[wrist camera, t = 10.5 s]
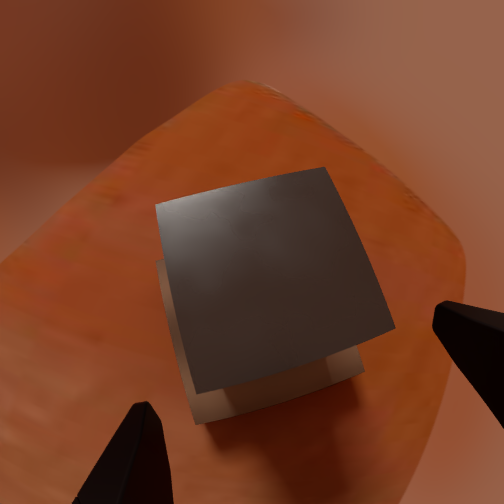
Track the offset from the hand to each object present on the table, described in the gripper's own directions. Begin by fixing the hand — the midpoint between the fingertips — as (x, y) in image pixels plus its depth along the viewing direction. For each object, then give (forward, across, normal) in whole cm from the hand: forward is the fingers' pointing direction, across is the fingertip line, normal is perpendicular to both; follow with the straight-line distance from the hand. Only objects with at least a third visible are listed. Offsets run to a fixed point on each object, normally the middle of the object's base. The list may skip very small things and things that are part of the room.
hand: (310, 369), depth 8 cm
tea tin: (+10, 0, +5) cm, 11 cm away
